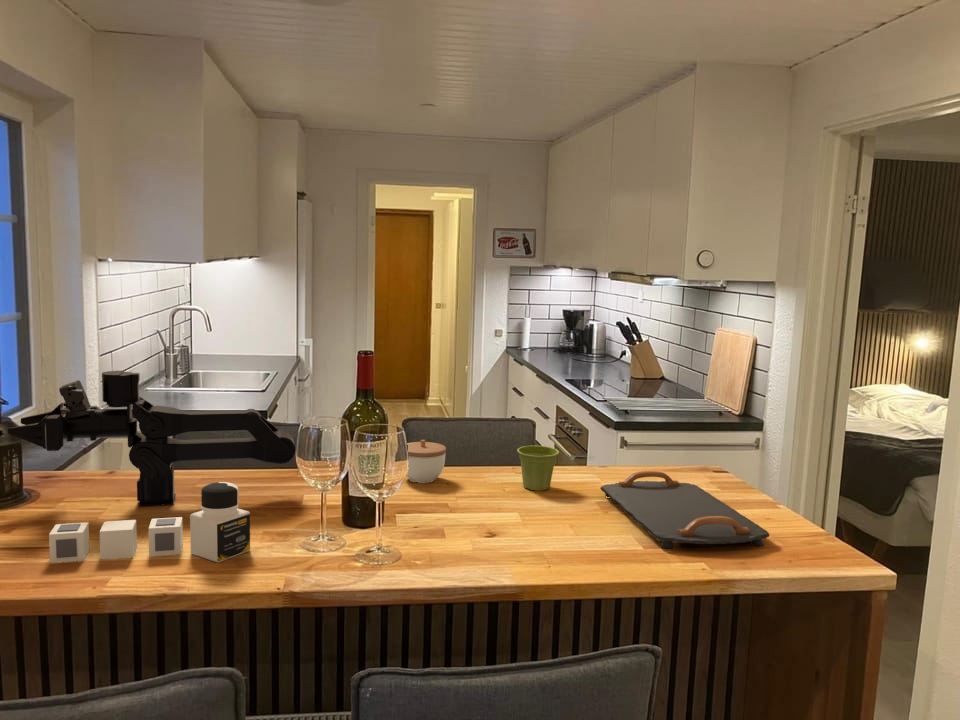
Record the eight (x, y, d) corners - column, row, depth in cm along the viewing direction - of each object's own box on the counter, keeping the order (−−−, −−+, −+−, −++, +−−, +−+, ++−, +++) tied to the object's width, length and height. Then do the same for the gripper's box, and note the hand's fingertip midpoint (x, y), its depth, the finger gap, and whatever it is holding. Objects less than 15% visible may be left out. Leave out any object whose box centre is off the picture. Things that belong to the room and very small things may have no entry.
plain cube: (136, 547, 139) (136, 519, 138) (133, 558, 134) (132, 529, 134) (105, 549, 138) (104, 521, 137) (100, 560, 133) (99, 531, 132)
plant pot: (558, 494, 178) (560, 456, 177) (516, 492, 178) (518, 454, 177) (555, 482, 187) (557, 446, 186) (515, 481, 187) (516, 444, 186)
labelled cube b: (89, 550, 137) (88, 521, 136) (83, 561, 132) (82, 531, 131) (57, 552, 135) (55, 523, 135) (50, 564, 130) (48, 533, 130)
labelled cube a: (182, 544, 141) (182, 515, 140) (180, 555, 136) (180, 525, 135) (152, 546, 140) (151, 517, 139) (148, 557, 135) (148, 527, 134)
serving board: (780, 554, 147) (782, 521, 147) (662, 559, 143) (664, 525, 142) (688, 491, 185) (689, 465, 184) (592, 494, 181) (594, 467, 180)
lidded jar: (403, 472, 192) (404, 433, 190) (448, 474, 191) (449, 436, 189) (394, 484, 181) (395, 444, 180) (441, 487, 180) (442, 447, 179)
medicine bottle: (217, 563, 133) (217, 493, 131) (189, 554, 137) (188, 486, 135) (251, 551, 139) (250, 484, 137) (223, 542, 143) (222, 476, 141)
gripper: (109, 376, 166) (25, 376, 162) (93, 391, 149) (-2, 393, 144) (110, 428, 168) (27, 430, 163) (95, 450, 150) (1, 453, 146)
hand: (14, 425), depth 154 cm, fingers open, 9 cm apart
